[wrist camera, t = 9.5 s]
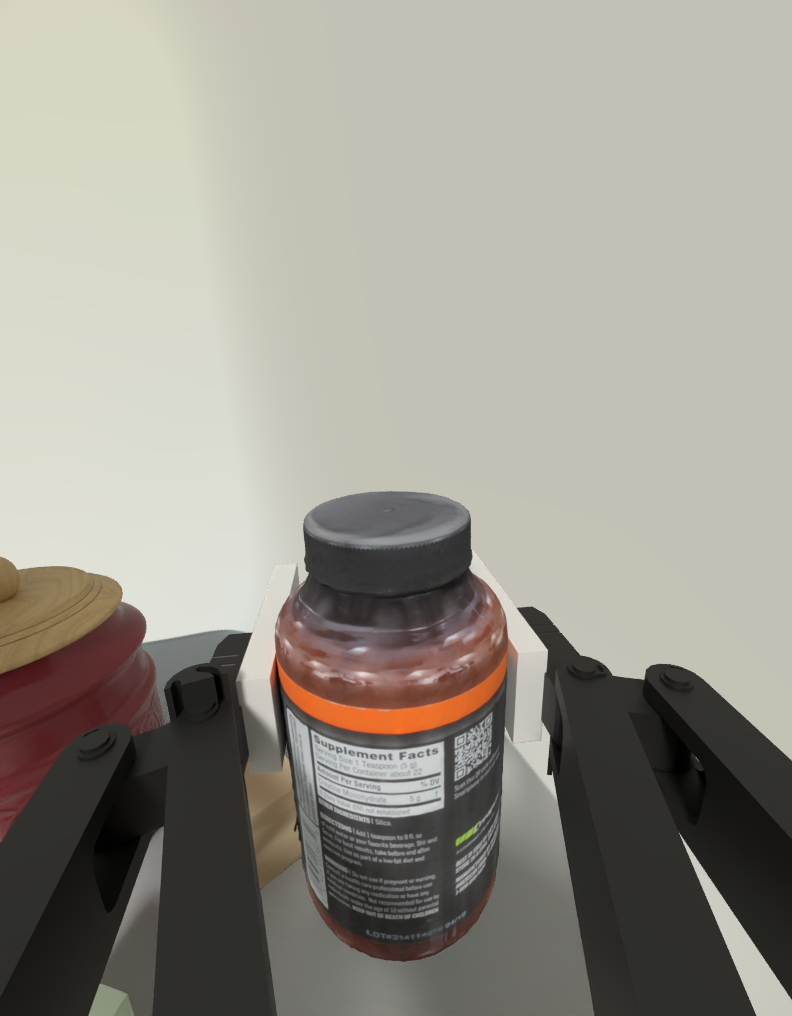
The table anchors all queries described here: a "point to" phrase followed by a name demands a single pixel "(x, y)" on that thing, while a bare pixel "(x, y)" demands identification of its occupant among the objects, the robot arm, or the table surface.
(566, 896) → the table surface
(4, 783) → the canister
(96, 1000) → the sage block
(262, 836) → the beech block
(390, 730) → the supplement bottle
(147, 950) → the table surface
